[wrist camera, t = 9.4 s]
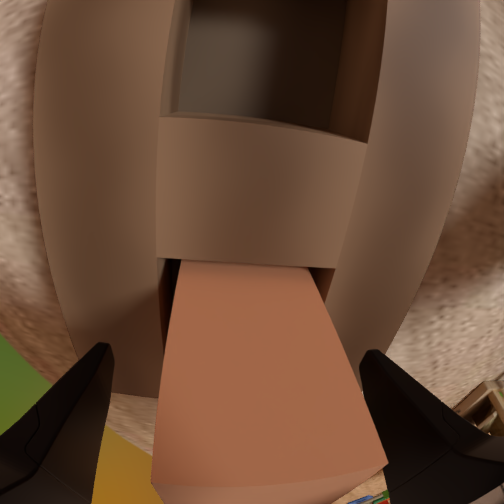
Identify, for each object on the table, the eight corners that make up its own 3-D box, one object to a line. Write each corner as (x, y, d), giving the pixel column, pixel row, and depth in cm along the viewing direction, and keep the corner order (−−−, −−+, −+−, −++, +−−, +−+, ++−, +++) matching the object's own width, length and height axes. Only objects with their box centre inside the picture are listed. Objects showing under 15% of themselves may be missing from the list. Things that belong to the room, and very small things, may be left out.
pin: (293, 236, 13) (388, 463, 4) (275, 315, 15) (319, 510, 6) (188, 228, 12) (150, 482, 4) (186, 311, 14) (173, 517, 6)
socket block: (423, 1, 8) (479, -12, 5) (339, 343, 18) (360, 394, 14) (113, -49, 6) (79, -86, 3) (108, 334, 16) (91, 388, 12)
